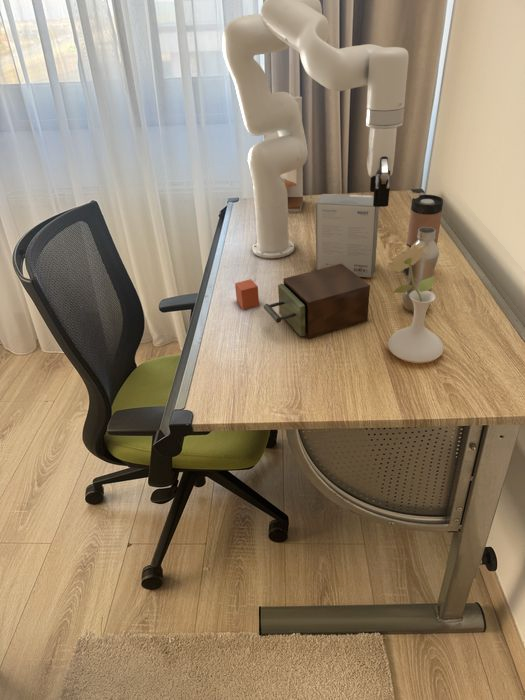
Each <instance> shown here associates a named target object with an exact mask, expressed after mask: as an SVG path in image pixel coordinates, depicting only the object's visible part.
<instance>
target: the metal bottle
mask: <svg viewBox="0 0 525 700" xmlns="http://www.w3.org/2000/svg"><path fill="white" fill-rule="evenodd" d="M435 233H436V230H435V229H434V228H431V227H421V228H419V229H418V235H417V239H418V240H417V241H416V242H415V243H414V244H413V245H416V244H418V243H419V248H420V247H421V246H423V245H425V246H424V248H425V250H424V251H425V252H424V253H423V254H422V255H423V257H422V258H420V260H418V261H417V262H416V263H415V264H414V265H411V268H412V273H413V280H414V285H415V287H416V288H417V290H418V287H419V283H420V282H421V281H423V280H425V279H428V278H431V277H433V276H434V273H435V270H436V269H435V268H436V266H437V262H438V260H439V257H440V248H439V246H438V243H437V244H436V243H435V242H434V239H435ZM407 276H408V275H407ZM406 285H412V286H413V284H412V277H411V271H410V267H409V276H408V278H407V282H406ZM432 288H433V287H432ZM432 288H431V289H430V290H427V291H430V292H432V290H433V289H432ZM412 291H415V288H414V287H412V288H411V289H410V290H408V291H406V292H404V293H403V296H402V305H403V307H404V308H405V309H406V310H407V311H410V312H413V313H414V305H413V302H412V300H411V299H410V297H409V294H410V293H411V292H412ZM431 304H432V302H431V303H430V305H429V306H428V309H429V308H430V306H431Z"/></svg>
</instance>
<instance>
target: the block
mask: <svg viewBox="0 0 525 700" xmlns="http://www.w3.org/2000/svg"><path fill="white" fill-rule="evenodd" d="M234 289H235V297H236V299H235V300H236V303H237V305H238V306H239V307H240V308H241V309H242V310H244V311H245V310H248V309H251V308H255V307H259V306H260V299H259V285H257V283H255V282H254V280H252V279H251V278H250V279H246V280H242V281H238V282H234Z"/></svg>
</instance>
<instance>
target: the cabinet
mask: <svg viewBox="0 0 525 700" xmlns="http://www.w3.org/2000/svg"><path fill="white" fill-rule="evenodd" d="M283 284H284V285H285V286H286V287H287V288H288V289H289V287H290V288H291V289H292V290H293V291H294V292H295V293H296V294H297V295H298V296H299V297H300V298H301V299H302V300H303V301H304V302H305V303H306V304H307V328H306V327H305V335H304V336H305V337H306V339H308V340H310V339H314V338H317V337H321V336H324V335H328V334H330V333H333V332H337V331H340V330H344V329H346V328H347V329H348V328H350V327H353V326H357V325H360V324H363V323H366V322H368V320H369V307H370V306H369V305H370V293H371V284H369V283H368V282H367V281H365V280H364V279H363V278H362V277H359V276H357V275H356V274H355V273H353V272H352V271H351V270H349V269H348V268H347V267H345V266H344V265H343V264H338V265H334V266H330V267H326V268H322V269H318V270H316V269H314V270H311V271H308V272H304V273H299V274H295V275H291V276H288V277H284V278H283Z"/></svg>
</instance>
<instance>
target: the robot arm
mask: <svg viewBox="0 0 525 700" xmlns="http://www.w3.org/2000/svg"><path fill="white" fill-rule="evenodd" d="M329 35H330V24H329V20H328V19H327V17H326V16H325V15H324V14H323V8H322V3H321V1H320V0H264V2H263V3H262V6H261V9H260V13H257V14H248V15H247V14H246V15H242V16H238V17H236V18H234V19H232V20H230V21H229V22H228V23H227V24H226V26H225V27H224V30H223V33H222V38H221V47H222V54H223V59H224V61H225V64H226V67H227V70H228V71H229V73H230V76H231V78H232V81H233V84H234V88H235V93H236V96H237V100H238V103H239V108H240V112H241V113H240V114H241V117H242V120H243V124H244V127H245V129H246V131H247V133H248V134H249V135H251V136H254V137H260V136H264V135H266V134H270V133H274V132H278V134H279V137H277V138H272V139H268V140H265V141H264V140H262V141H261V140H260V141H259V142H257V143H254V145H252V147H250V149H249V151H248V154H247V165H248V169H249V173H250V177H251V180H252V181H251V182H252V189H253V201H254V213H255V228H256V229H255V230H256V241H257V242H255V243H254V244H253V245H252V253H253V254H254V255H255V256H257V257H260V258H263V259H280V258H284V257H288V256H289V255H291V254H293V252H294V251H295V244H294V242H292V241H291V240H290V233H289V232H290V231H289V212H288V197H287V189H286V186H285V184H284V183H283V181H282V180H281V178H280V175H281V174H284V173H286V172H289V171H293V170H296V169H298V168H301V167H302V166H303V167H304V165H305V164H306V163H307V161H308V155H309V152H308V144H307V138H306V134H305V129H304V125H303V118H302V119H301V114H300V110H299V106H298V104H297V102H296V100H295V99H294V97H295V96H293V95H292V94H290V93H289V92H286V91H277V92H271V89H270V86H269V83H268V82H269V81H268V77H267V74H266V73H265V71H264V68H262V66H261V64H260V63H258V61H256V59H255V58H254V57H255V56H258V55H259V56H260V55H267V54H272V53H279V52H282V51H283V52H284V51H285V50H287V49H289V48H292V49H293V50H295V51H296V52H298V53H299V58H300V61H301V62H300V63H301V64H302V67H303V69H304V72H305V73H306V74H307V75H308V76H309V77H310V78H311V79H312V80H313V81H315V82H316V83H318V84H320V85H321V86H323V87H324V88H326V89H327V90H329V91H334V92H342V91H346V90H352V89H355V88H362V87H366V86H367V91H366V93H367V94H366V113H365V126H366V127H368V128H369V134H368V145H367V147H368V148H367V159H366V169H367V174H368V176H369V177H370V183H369V184H370V185H369V191H370V192H371V193H373V196H374V199H373V206H374V207H379V208H386V207H388V206H389V200H390V192H391V191H390V190H391V189H390V177H392V176H393V171H394V165H395V156H396V155H395V154H396V144H397V131H398V128H399V127H401V126H403V124H404V114H405V103H406V93H407V82H408V72H409V71H408V70H409V60H410V58H409V57H410V55H409V51H408V49H406V48H404V47H400V46H386V47H385V46H380V45H378V44H373V43H367V44H360V45H352V46H347V47H341V48H336V47H334V46H332V45H331V44H329V43H327V41H328V39H329Z"/></svg>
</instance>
